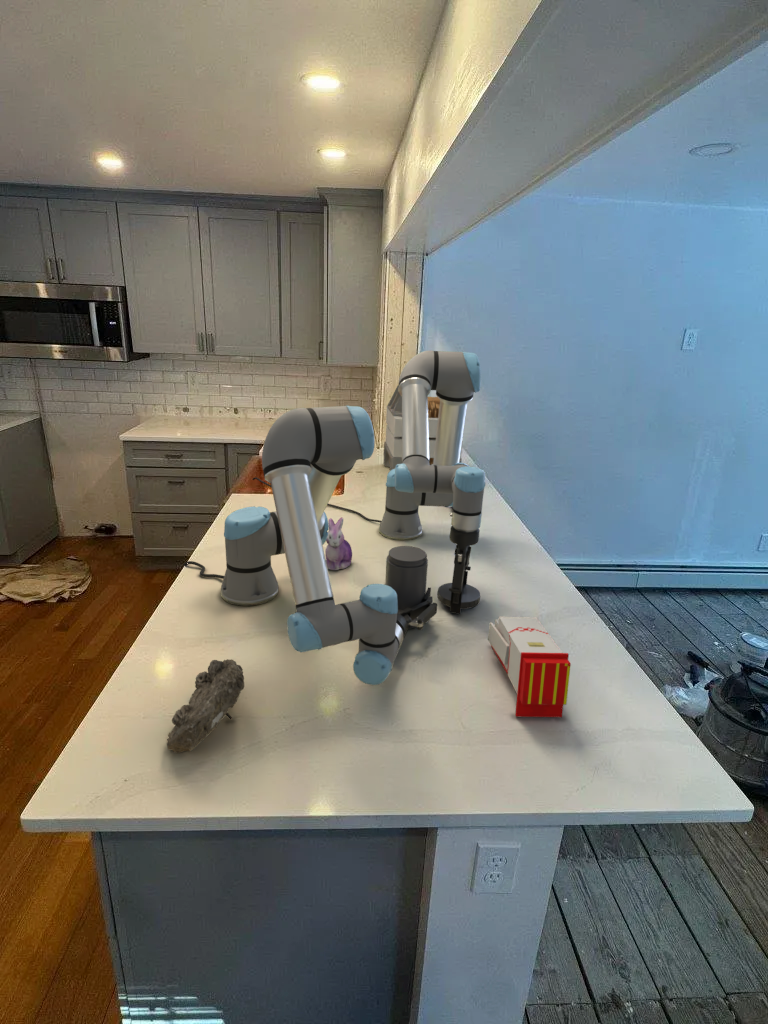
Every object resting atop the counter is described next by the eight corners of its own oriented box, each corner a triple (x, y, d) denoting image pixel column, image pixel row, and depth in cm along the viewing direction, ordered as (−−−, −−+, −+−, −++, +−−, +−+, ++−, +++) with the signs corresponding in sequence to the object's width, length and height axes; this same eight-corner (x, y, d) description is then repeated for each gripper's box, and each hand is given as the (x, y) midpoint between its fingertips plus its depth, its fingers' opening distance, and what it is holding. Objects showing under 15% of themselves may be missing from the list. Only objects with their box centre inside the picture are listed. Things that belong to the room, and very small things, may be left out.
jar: (412, 633, 139) (416, 565, 133) (376, 621, 144) (379, 555, 137) (430, 615, 147) (435, 551, 141) (395, 604, 152) (399, 541, 146)
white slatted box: (382, 463, 289) (386, 382, 275) (445, 464, 293) (451, 384, 279) (390, 482, 257) (394, 392, 243) (460, 483, 261) (468, 394, 247)
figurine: (330, 573, 167) (330, 526, 162) (317, 560, 176) (317, 515, 171) (359, 568, 172) (360, 522, 167) (345, 555, 180) (346, 511, 175)
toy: (534, 602, 136) (579, 659, 107) (529, 653, 139) (572, 723, 110) (484, 601, 136) (516, 658, 107) (480, 652, 139) (510, 722, 109)
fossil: (192, 660, 117) (244, 628, 112) (224, 691, 120) (276, 661, 115) (142, 746, 98) (202, 712, 93) (182, 779, 101) (242, 748, 96)
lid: (441, 585, 160) (441, 579, 160) (482, 592, 157) (483, 586, 157) (433, 604, 150) (433, 597, 149) (476, 612, 147) (477, 605, 146)
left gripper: (339, 638, 131) (365, 595, 151) (436, 656, 126) (450, 608, 146) (339, 609, 128) (366, 569, 148) (439, 626, 123) (453, 582, 143)
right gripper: (456, 510, 158) (450, 581, 166) (443, 541, 137) (437, 621, 144) (483, 514, 157) (476, 585, 164) (475, 546, 135) (466, 626, 142)
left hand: (408, 588), depth 147 cm, fingers closed on jar, 10 cm apart
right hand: (457, 601), depth 154 cm, fingers closed on lid, 11 cm apart
